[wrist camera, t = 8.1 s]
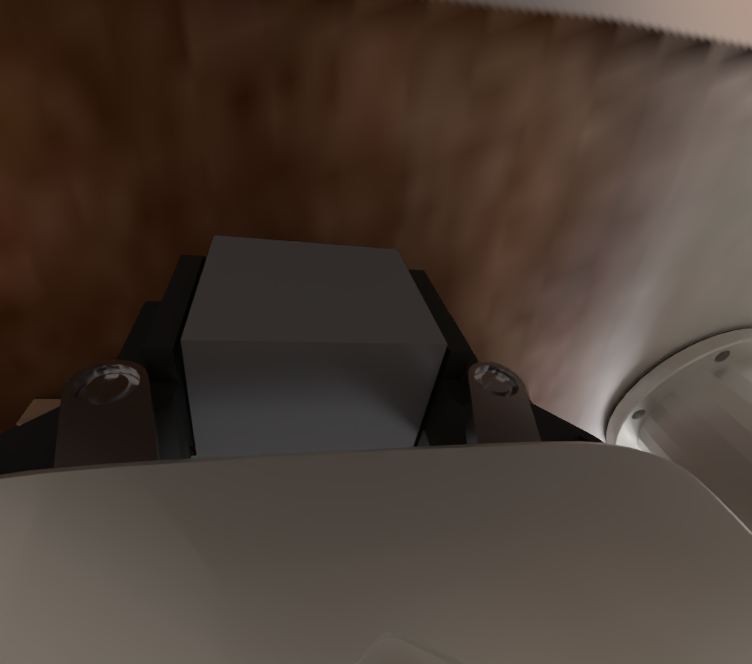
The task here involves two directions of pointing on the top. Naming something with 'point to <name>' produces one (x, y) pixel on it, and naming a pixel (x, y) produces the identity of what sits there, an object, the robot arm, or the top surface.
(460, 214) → the top surface
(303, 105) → the top surface
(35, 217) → the top surface
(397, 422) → the block
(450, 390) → the robot arm
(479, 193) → the top surface
